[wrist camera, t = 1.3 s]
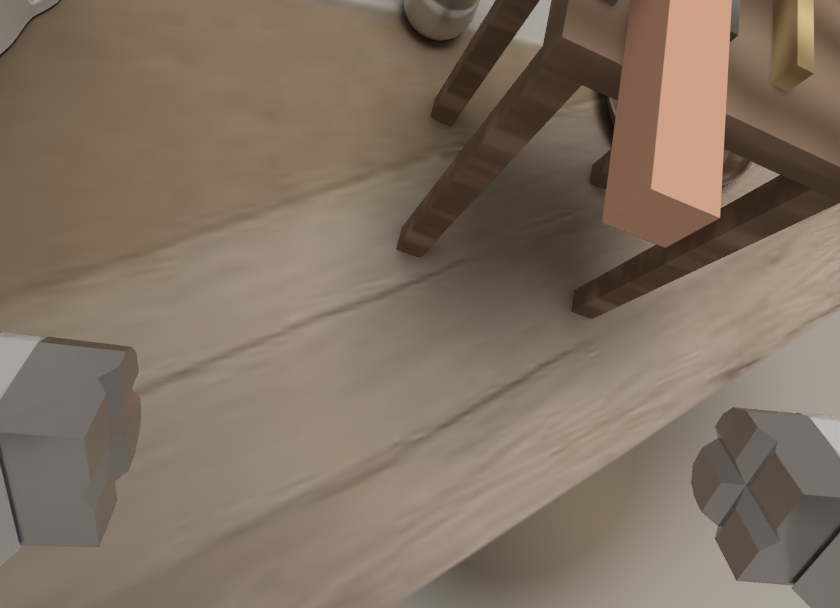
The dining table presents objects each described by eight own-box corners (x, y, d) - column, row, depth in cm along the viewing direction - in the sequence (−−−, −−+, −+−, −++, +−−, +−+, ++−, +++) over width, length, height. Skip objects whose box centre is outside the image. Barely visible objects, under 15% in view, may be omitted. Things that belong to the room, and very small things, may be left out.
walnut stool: (596, 325, 56) (925, 178, 31) (389, 252, 51) (581, 12, 27) (616, 169, 62) (906, -59, 37) (431, 91, 57) (621, -228, 33)
